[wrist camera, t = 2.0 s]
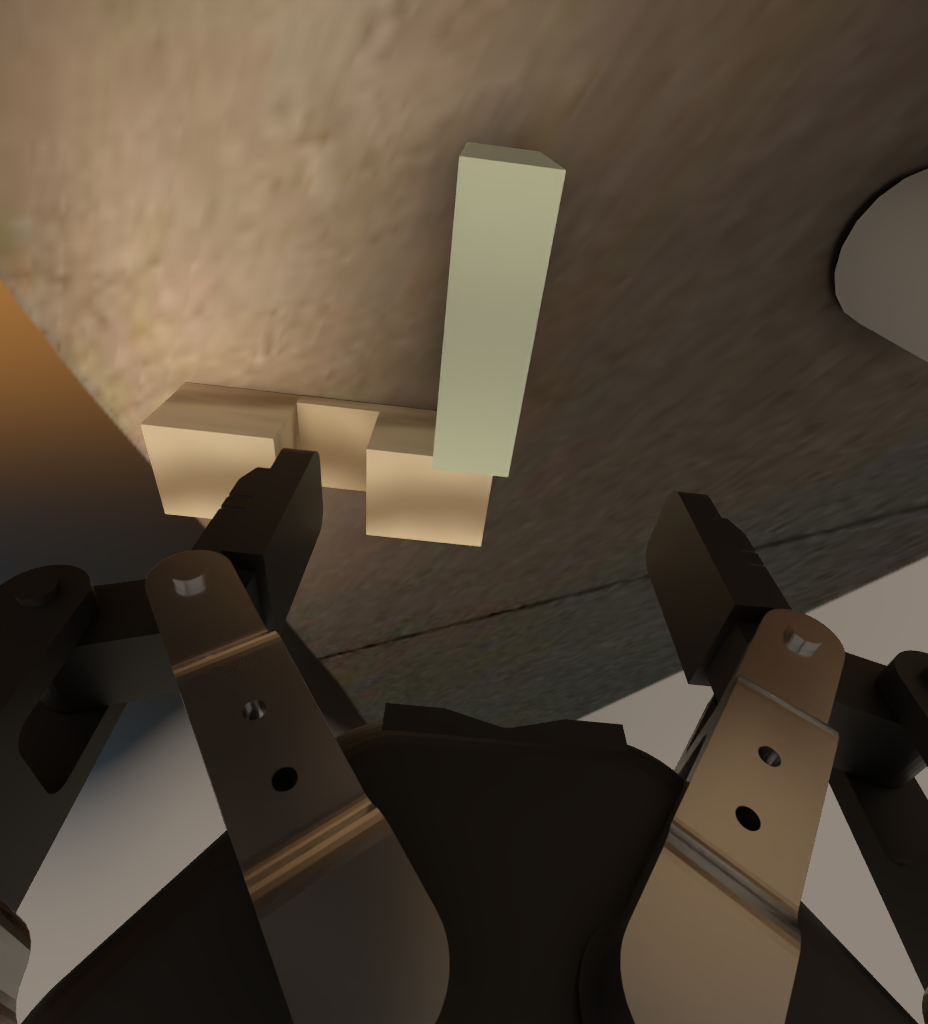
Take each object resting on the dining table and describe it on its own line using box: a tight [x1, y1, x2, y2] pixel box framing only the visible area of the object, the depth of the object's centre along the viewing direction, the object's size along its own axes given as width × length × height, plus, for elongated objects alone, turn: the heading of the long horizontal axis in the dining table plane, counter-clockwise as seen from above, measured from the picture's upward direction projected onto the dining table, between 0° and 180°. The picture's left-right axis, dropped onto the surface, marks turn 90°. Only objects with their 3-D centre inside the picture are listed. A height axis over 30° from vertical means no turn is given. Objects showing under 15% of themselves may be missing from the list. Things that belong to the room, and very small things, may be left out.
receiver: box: [140, 382, 493, 546], centre depth 33 cm, size 6×19×6 cm, turn 84°
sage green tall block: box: [432, 142, 566, 477], centre depth 25 cm, size 12×4×10 cm, turn 174°
